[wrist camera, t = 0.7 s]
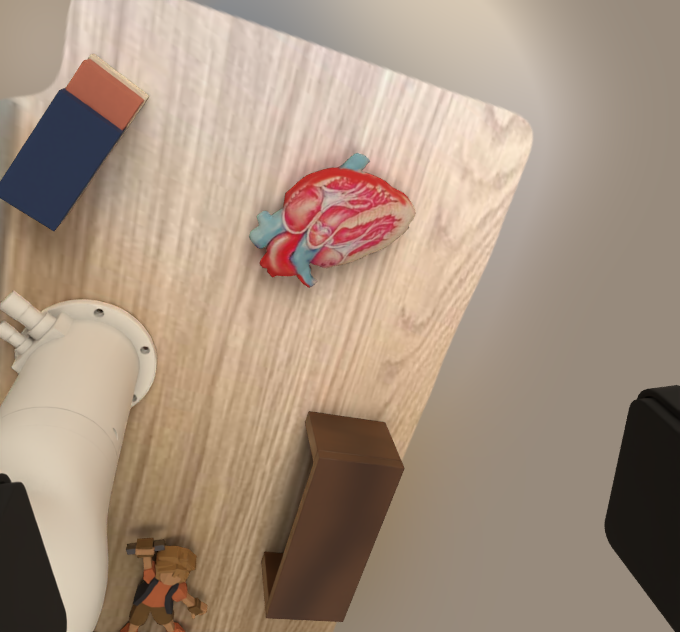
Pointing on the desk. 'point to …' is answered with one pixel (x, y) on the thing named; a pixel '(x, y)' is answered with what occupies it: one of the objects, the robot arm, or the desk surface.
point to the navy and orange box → (71, 142)
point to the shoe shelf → (333, 519)
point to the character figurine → (162, 584)
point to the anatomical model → (331, 221)
